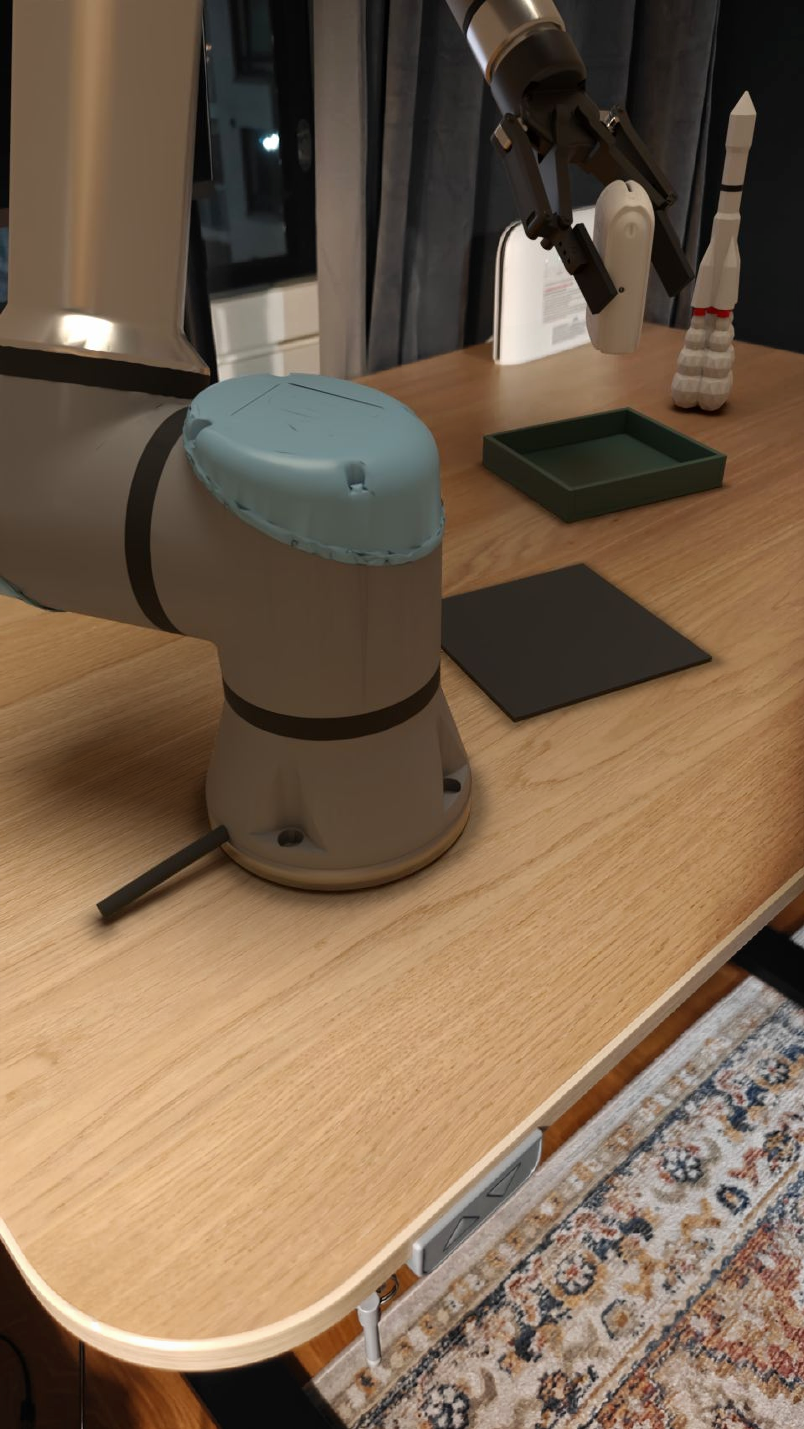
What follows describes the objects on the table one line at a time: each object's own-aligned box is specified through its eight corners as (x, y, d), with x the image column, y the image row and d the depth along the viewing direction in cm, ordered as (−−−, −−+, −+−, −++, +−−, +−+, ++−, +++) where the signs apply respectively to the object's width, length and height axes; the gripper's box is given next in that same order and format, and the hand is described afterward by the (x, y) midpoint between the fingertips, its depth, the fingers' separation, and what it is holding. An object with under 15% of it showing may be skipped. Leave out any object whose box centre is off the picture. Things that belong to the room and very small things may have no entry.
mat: (514, 721, 65) (514, 718, 65) (405, 611, 77) (405, 608, 77) (711, 660, 71) (712, 656, 71) (582, 566, 83) (582, 562, 83)
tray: (567, 523, 89) (569, 491, 88) (481, 464, 101) (482, 435, 99) (722, 486, 95) (727, 455, 94) (625, 434, 106) (628, 406, 105)
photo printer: (643, 356, 85) (664, 191, 78) (592, 355, 85) (607, 191, 78) (628, 323, 93) (645, 172, 86) (581, 323, 94) (594, 172, 87)
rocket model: (652, 401, 115) (691, 90, 97) (706, 391, 117) (754, 86, 100) (691, 421, 109) (740, 96, 92) (747, 411, 112) (805, 91, 94)
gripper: (593, 89, 94) (700, 303, 93) (408, 103, 84) (525, 343, 83) (643, 20, 88) (759, 249, 86) (448, 27, 78) (576, 286, 76)
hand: (644, 295), depth 85 cm, fingers closed on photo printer, 8 cm apart
